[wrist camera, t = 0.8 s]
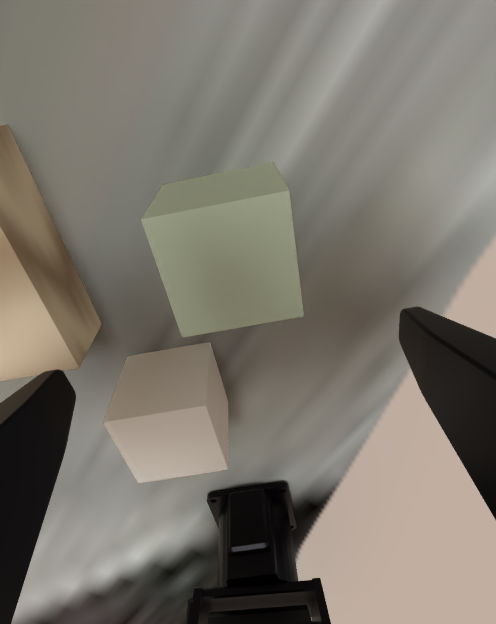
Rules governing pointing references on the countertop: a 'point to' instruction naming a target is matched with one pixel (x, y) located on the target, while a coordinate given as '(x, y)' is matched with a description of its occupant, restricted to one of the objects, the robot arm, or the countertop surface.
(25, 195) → the birch block
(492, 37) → the countertop surface
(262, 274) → the sage cube
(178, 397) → the white cube
